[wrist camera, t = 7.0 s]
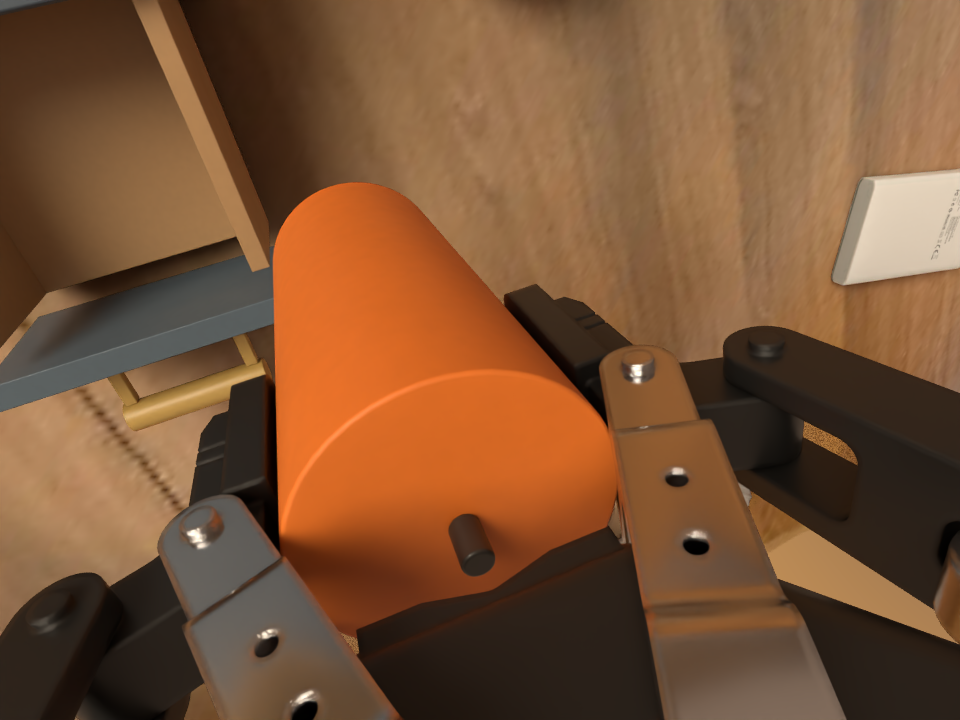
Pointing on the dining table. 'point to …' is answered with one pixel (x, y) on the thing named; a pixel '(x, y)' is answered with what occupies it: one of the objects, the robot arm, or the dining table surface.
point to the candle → (415, 417)
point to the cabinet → (23, 5)
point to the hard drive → (901, 227)
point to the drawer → (121, 205)
